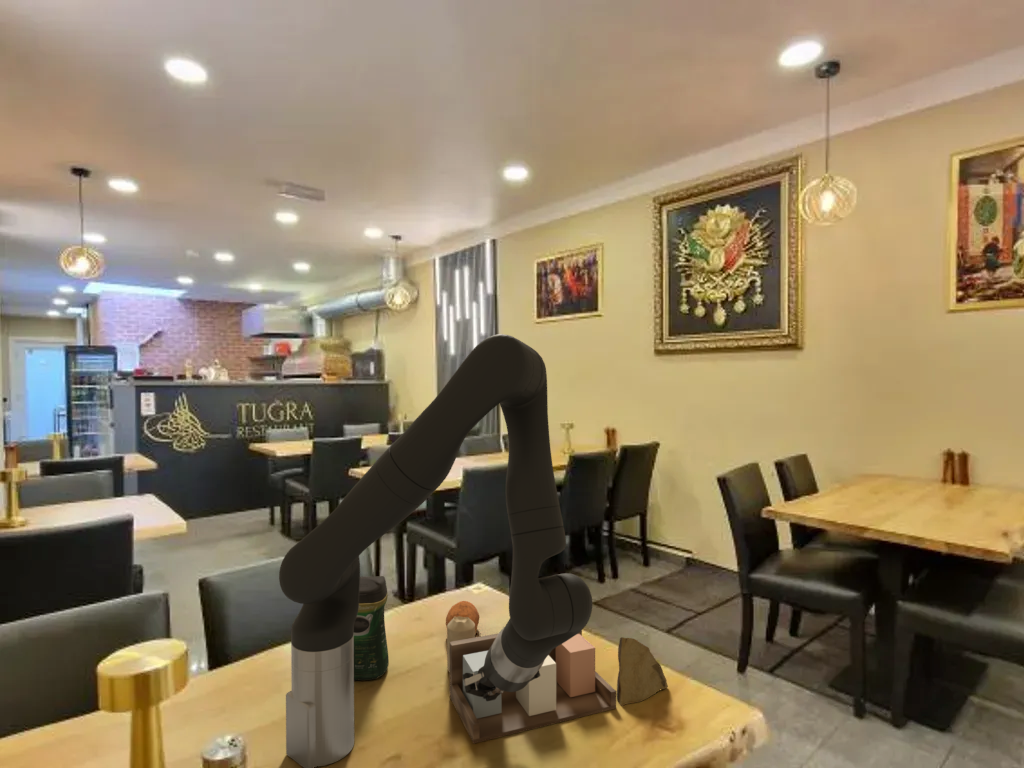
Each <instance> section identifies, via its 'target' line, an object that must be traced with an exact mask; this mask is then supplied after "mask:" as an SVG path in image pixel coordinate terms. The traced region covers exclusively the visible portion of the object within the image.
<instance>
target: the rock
mask: <svg viewBox="0 0 1024 768" xmlns="http://www.w3.org/2000/svg"><path fill="white" fill-rule="evenodd" d="M650 650H651V649H650V647H648V646H646V645H645V644H643V643H641V642H640V641H638V640H637V639H635V638H633V637H620V638H619V641H618V648H617V660H618V674H617V683H616V701H617V702H618V704H619V706H621V707H624V706H625V705H629V704H632V703H633V704H635V703H641V702H642V701H644V700H647V699H649V698H650V697H651V696H653V695H655V694H657V693H656V692H657V691H658V690H660V689H663V690H666V689H667V688H668V687H669V686H668V681H667V677H666V676H665V673H664V671H663V668H662V665H661V664H660V663H659V662H658V660H656V658H655V656H654V654H652V652H651V651H650ZM665 688H666V689H665ZM660 691H661V690H660ZM658 692H659V691H658Z"/></svg>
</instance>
